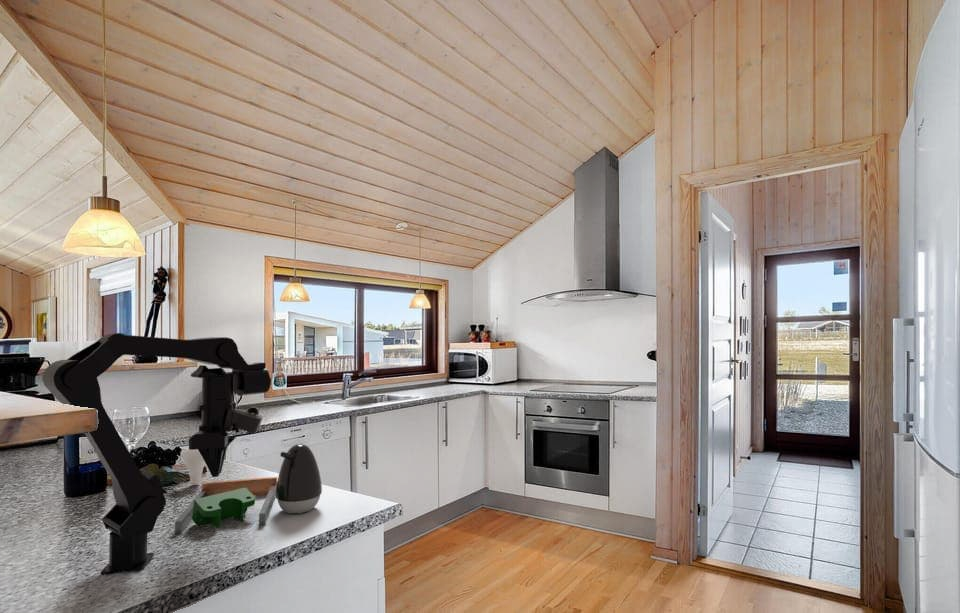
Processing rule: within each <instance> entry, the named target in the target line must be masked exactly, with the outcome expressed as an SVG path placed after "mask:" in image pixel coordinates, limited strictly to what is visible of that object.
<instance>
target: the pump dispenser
mask: <svg viewBox="0 0 960 613" xmlns="http://www.w3.org/2000/svg"><path fill="white" fill-rule="evenodd" d="M280 457H281V458H283V461H282V463H281V466H280V470H279V473H278V476H277V487H276V497H275V499H276V500H277V503H278V505H279V507H280V509H281V510H282V511H283V512H285V513H287V514H288V513H289V514H292V513H293V514H294V513H299V514H304V513H307V512H309V511H311V510H312V509H314V508H315V507H316V506H317V504H318V503H319V500H320V497H321V495H322V493H323V487H322V479H321V474H320V469H319V465H318V462H317V459H316V457H315V455H314V452H313V451H312V449H311V448H310V447H309V446H308V445H306V444H303V443H299V444H295V445H293V446H291V447H290V448H289V449H288V451H287V452H286V451H282V452H280ZM303 512H304V513H303ZM293 514H292V515H293ZM294 515H295V514H294Z"/></svg>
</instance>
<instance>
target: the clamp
mask: <svg viewBox="0 0 960 613" xmlns="http://www.w3.org/2000/svg"><path fill="white" fill-rule="evenodd" d="M193 500H194V506H193V514H192V520H191V521H193V523H194V524H195V525H196V526H197V527H204V526H207V525H211V524H212V525H213V527H214V528H215V529H219V528H220V525H221V521H225V520H229V519H232V518H233V519H236V520H238V521H239V522H240V523H241V522H243V520H244V515H245V514H246V512H248V508H251V507H253V506H254V505H255V504H256V503H255V501H256V496H254V495H253V494H252V493H251V492H250V491H249V490H248V489H247V488H246V487H245V488H241V489H237V490H233V491H228V492H224V493H220V494H216V495H211V496H207V497H203V498H198V499H195V498H194V499H193Z"/></svg>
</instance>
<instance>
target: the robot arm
mask: <svg viewBox="0 0 960 613" xmlns="http://www.w3.org/2000/svg"><path fill="white" fill-rule="evenodd" d="M124 355H125V356H141V357H142V356H143V357H158V358H159V357H162V358H175V359H176V358H179V359H180V358H181V359H185V360H189V361H192V362H195V363H201V364H204V365H201V364H200V365H199V366H198V367H197V369H196V370H194V371H193V372H192V373H191V374H190V377H191V378H197V379H198V378H199V379H201V380H202V381H201V404H199V406H198V407H199V408H198V411H199V412H200V411H201V424H200V425H199V426H198V431H196V432H195V433H194V434H193V435H192V436H191V437H190V438H189V439H188V447H189V449H190V450H196V449H198V450H199V452H200V454H201V456H202V457H203V459H204V461H205V465H206V467H207V469H208V471H209V472H210V474H211V477H212V478H216V477H217V478H218V477H219V476H220V474H221V473H222V470H223V466H224V462H225V458H226V455H227V451H228V447H229V446H230V445H231V443H233V442H234V440H235V439H236V438H237V435H230V433H229V432H233V431H235V433H236V434H237V433H240V432H241V431H242V430H243V431H244V432H247V433H248V434H253V435H256V433H257V432H258V430H259V429H260V426H261V423H262V421H263V417H264V416H263V415H262V414H260V410H259V408H258V407H255V406H250V407H249V408H248V409H247V410H245V409H239V408H237V402H236V401H234V393H235V394H236V395H237V396H239V397H241V396H250V395H261V394H267V392H269V390H270V388H271V385H272V384H271V383H272V378H271V375H270V372H269V370H268V369H267V368H266V363H265V362H254V363H247V361H246V360H245V359H244V357H243V356H242V354H241V353H240V352H239V348H238V345H237V343H236V341H234V339H232V338H231V337H225V336H224V337H223V336H222V337H220V336H219V337H214V336H211V337H210V336H209V337H199V338H189V339H180V338H169V337H168V338H167V337H156V336H146V335H145V336H144V335H143V336H142V335H132V334H130V335H128V334H125V333H123V332H109V333H106V334H104V335H102V337H101V338H99V339H98V340H96V341H95V342H93V343H92V344H90V345H88V346H86V347H84V348H83V349H81V350H79V351H77V352H75V353H74V354H72V355H71V356H70V357H68V358H67V359H60V360H56V361H54V362H52V363H50V364H49V365H48V366H46V368H45V370H44V371H43V373H42V376H41V378H42V382H43V385H44V387H45V388H46V389H47V390H48V391H49V392H50V393H51V395H53V397H54V398H55V399H56V400H57V401H58V402H59V403H60V404H62V403H63V404H69V405H74V406H80V407H88V408H96V409H97V410H98V419H99V424H98V428H97V430H95V431H92V432H88V433H84V435H85V436H86V439H87V440H88V441H89V443H90V446H91V447H92V449H93V450H94V452H95V453H96V456H97V457H98V459H99V461H100V462H101V464H102V466H103V467H104V468H105V469H104V470H105V471H106V472H107V474H108V476H109V478H110V480H111V484H112V494H113V497H114V501H115V504H114V505H113V507H112V508H111V509H110V510H109V511H107V513H106V514H105V515H104V516H103V517H102V519H101V521H102V524H103V526H104V528H105V530H108V531H110V532H109V538H108V539H109V541H108V542H109V544H108V545H109V548H108V553H109V554H108V563H106V565H105V566H104V567H103V569H101V571H100V575H110V574H117V573H127V572H134V571H135V572H136V571H137V572H139V571H142V570H144V569H145V567H146V566H147V565H148V564H149V562H150V561H151V560H152V559H153V558H154V557H155V556H154V555H155V553H154V552H149V553H148V533H152V532H153V531H154V528H155V526H156V524H157V520H158V517H159V516H160V515H161V514H162V512H164V510H165V506H166V504H167V499H166V497H165V494H167V493H168V491H167V490H165V489H164V487H163V486H162V484H161V482H160V478H159V476H158V474H156V473H153V472H151V471H148V470H147V469H146V470H145V469H142V470H140V469H139V467H138V466H137V464H136V462H135V460H134V458H133V457H132V455H131V453H130V450H128V448H127V446H126V445H125V443H124V441H123V439H122V437H121V436H120V433H119V432H118V429H116V426H115V425H114V423H113V421H112V420H111V418H110V416H109V414H108V412H107V411H106V409H105V407H104V405H103V401H102V394H101V387H100V384H99V380H98V378H99V377H100V376H101V375H102V374H103V373H105V372H106V371H107V370H108V369H109V368H111V366H112V365H113V364H114V363H116V361H118V359H120V358H121V357H122V356H124ZM207 365H211V366H217V367H215V368H213V367H211V368H208V366H207ZM225 369H227V370H229V369H230V370H231V371H226V370H225ZM63 404H62V405H63Z"/></svg>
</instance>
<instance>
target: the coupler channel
mask: <svg viewBox="0 0 960 613" xmlns="http://www.w3.org/2000/svg"><path fill="white" fill-rule="evenodd" d="M277 481H278V476H273V477H271V476H270V477H258V478H257V477H256V478H245V479H230V480H219V481H205V482H202V484H201V491H200V492H199V493H197V495H196V496H195V497H194V499H198V498H203V497H207V496H211V495H216V494H220V493H224V492H228V491H233V490H237V489H241V488H245V487H246V488H247V489H248V490H249V491H250V492H251V493H252V494H253V495H254V496H255V497H257V496H265V495H266V496H265V499H264V502H263V504H262V506H261V509H260V511H259V513H258V526H259V527H261V526H266V524H267V521H268V519H269V518H268V517H269V515H270V513H271V510H272V508H273V505H274V502H275V499H276V487H277ZM194 499H193V500H192V501H191V503H189V504H188V506H187V507H186V508H185V510H184V511H183V512H182V513H181V514H180V515H179V517H178V518H176V520H175V521H174V535H178V534H179V535H180V534H183V532H184V531H185V530H186V529H187V526H189V524H190V522H192V521H193V520H192V514H193V506H194Z"/></svg>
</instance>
